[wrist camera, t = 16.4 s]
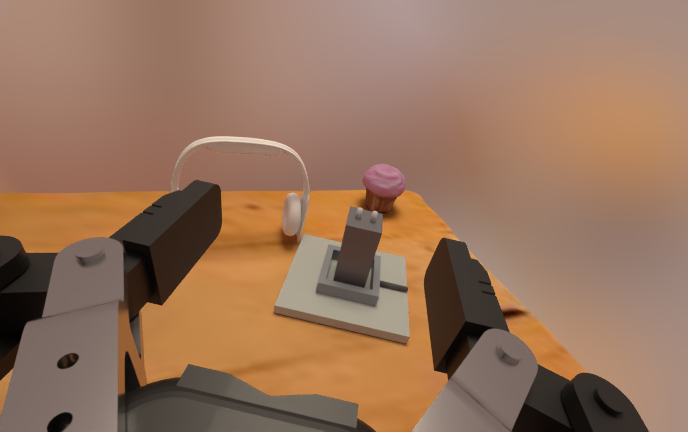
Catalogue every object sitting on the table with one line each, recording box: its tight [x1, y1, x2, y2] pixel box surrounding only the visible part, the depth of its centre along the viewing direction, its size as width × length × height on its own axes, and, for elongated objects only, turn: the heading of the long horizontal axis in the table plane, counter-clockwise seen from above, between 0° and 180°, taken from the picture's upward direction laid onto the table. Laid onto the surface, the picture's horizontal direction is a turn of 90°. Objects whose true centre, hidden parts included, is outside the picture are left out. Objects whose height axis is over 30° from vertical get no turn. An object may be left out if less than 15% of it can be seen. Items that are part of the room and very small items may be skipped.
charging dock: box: [274, 234, 410, 344], centre depth 47 cm, size 18×16×4 cm
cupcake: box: [363, 164, 405, 212], centre depth 66 cm, size 9×9×10 cm
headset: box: [170, 136, 310, 243], centre depth 47 cm, size 20×7×18 cm, turn 105°
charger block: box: [333, 207, 383, 288], centre depth 43 cm, size 5×5×12 cm
